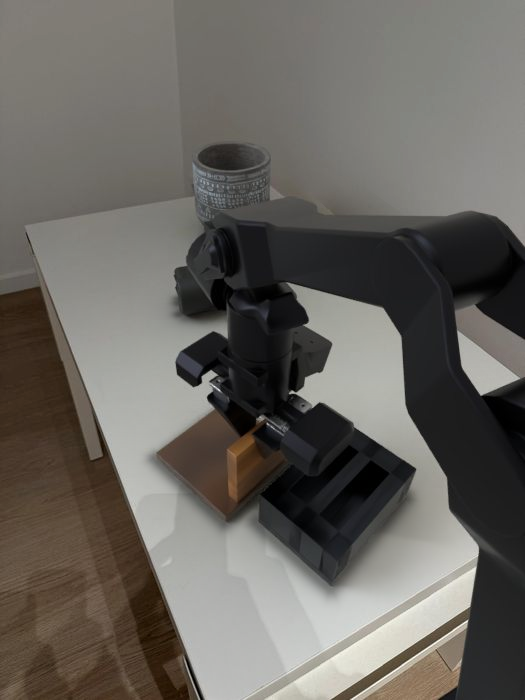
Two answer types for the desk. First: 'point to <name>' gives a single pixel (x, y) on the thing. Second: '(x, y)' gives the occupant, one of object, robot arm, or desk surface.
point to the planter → (229, 177)
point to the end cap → (190, 293)
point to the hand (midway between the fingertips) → (258, 448)
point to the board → (209, 463)
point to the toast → (248, 465)
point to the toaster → (336, 505)
